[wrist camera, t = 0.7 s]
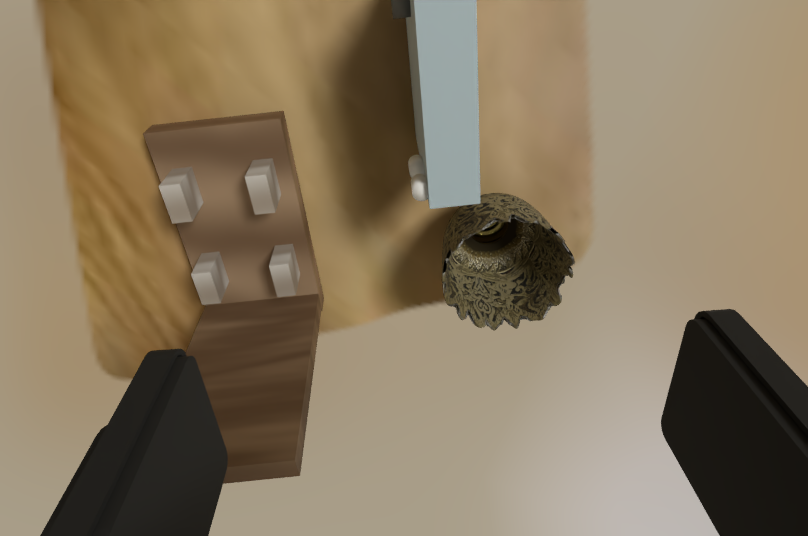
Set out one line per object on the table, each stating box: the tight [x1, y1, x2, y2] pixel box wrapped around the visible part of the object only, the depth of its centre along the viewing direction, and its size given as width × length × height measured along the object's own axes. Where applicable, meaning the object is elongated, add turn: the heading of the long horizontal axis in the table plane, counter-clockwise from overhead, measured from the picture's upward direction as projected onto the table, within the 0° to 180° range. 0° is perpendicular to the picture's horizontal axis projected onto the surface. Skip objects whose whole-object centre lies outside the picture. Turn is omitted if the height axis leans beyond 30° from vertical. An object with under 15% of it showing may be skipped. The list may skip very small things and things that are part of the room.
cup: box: [442, 193, 575, 330], centre depth 34 cm, size 8×7×8 cm
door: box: [391, 0, 480, 209], centre depth 27 cm, size 10×3×10 cm, turn 5°
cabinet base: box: [143, 111, 324, 483], centre depth 30 cm, size 14×8×16 cm, turn 5°
